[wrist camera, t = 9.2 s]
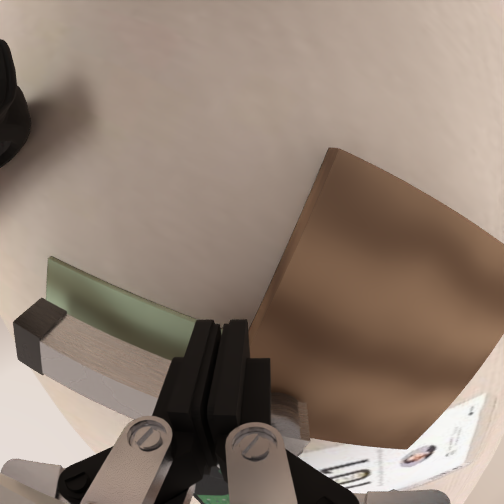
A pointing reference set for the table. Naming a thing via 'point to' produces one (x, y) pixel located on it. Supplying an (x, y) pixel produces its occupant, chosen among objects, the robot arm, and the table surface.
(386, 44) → the table surface
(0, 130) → the controller
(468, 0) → the table surface
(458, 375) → the brown flat wooden board
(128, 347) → the folding leg
